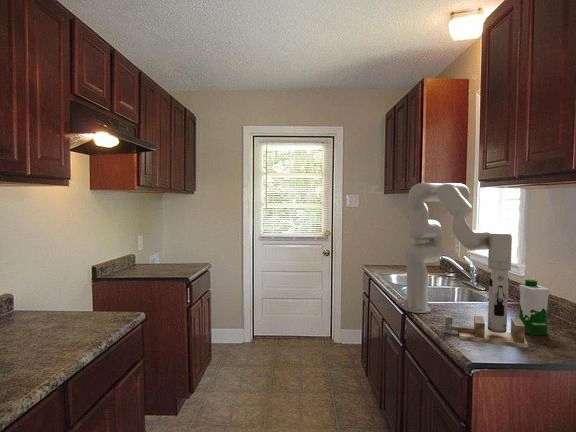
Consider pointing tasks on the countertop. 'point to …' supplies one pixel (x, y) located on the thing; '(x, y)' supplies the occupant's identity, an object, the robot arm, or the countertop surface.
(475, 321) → the sliding jaw
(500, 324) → the travel mug
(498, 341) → the base
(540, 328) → the milk carton
